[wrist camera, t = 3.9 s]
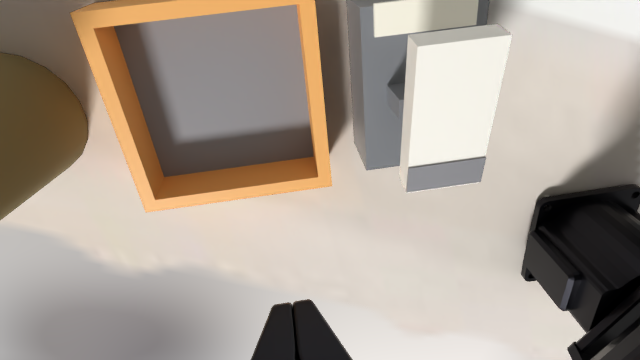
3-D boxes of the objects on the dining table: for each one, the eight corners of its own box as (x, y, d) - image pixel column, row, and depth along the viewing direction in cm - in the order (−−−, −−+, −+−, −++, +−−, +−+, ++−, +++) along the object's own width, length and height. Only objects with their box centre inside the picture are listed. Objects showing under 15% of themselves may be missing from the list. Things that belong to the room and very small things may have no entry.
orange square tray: (307, -22, 17) (313, -16, 15) (325, 161, 22) (332, 186, 20) (93, 3, 17) (69, 13, 15) (157, 184, 22) (145, 212, 19)
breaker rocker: (497, 23, 14) (513, 35, 13) (469, 167, 17) (480, 183, 17) (408, 34, 13) (418, 47, 13) (399, 177, 17) (406, 194, 16)
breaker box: (458, -19, 18) (515, -5, 14) (447, 129, 22) (490, 174, 18) (345, -6, 18) (370, 13, 14) (354, 142, 22) (375, 191, 18)
